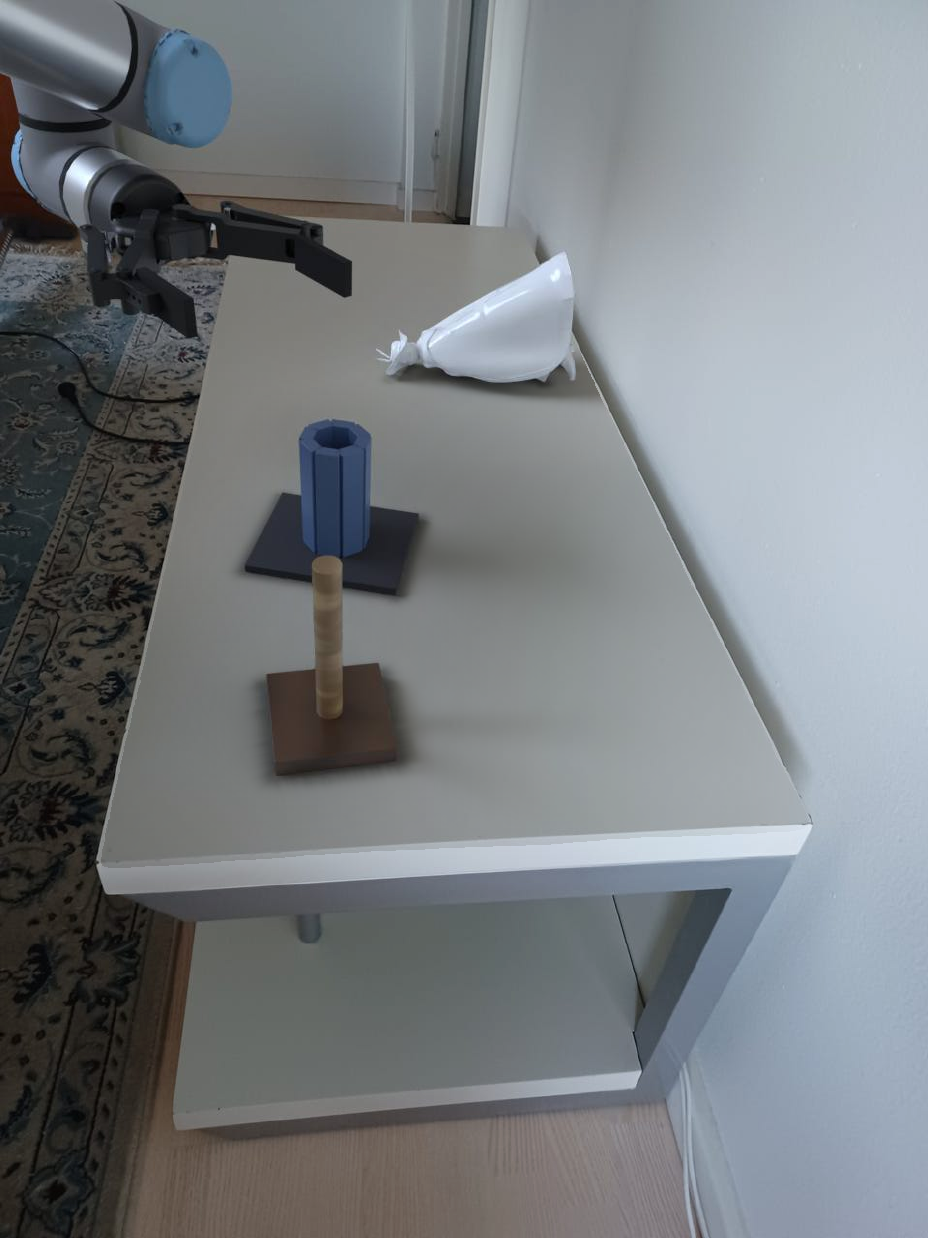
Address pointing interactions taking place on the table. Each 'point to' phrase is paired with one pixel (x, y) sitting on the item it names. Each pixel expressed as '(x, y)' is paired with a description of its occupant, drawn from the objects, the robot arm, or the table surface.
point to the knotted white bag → (503, 331)
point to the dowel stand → (329, 695)
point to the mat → (363, 570)
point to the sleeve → (335, 487)
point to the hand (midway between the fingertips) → (274, 298)
